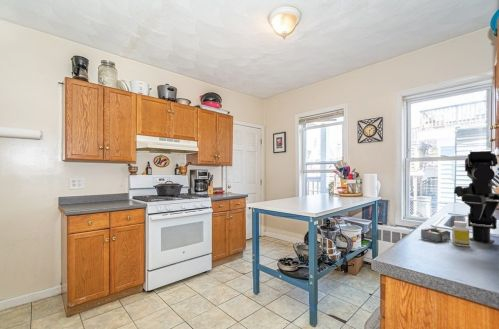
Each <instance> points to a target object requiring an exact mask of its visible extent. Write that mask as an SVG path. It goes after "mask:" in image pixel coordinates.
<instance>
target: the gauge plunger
mask: <svg viewBox="0 0 499 329" xmlns="http://www.w3.org/2000/svg"><path fill="white" fill-rule="evenodd" d="M443 230H444V229H443ZM430 231H431V230H430ZM448 231H449V230H444V231H438V233H440V235H441V239H447V238H448ZM431 232H432V231H431ZM436 233H437V232H436Z"/></svg>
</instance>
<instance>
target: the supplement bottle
mask: <svg viewBox="0 0 499 329" xmlns="http://www.w3.org/2000/svg"><path fill="white" fill-rule="evenodd" d="M453 225H454V226H452V230H451V231H452V232H451V233H452V235H451V237H452V244H453V245H456V246H458V247H466V248H467V247H470V240H469V238H470V229H469V227H468V222H466V221H462V220H454V221H453Z"/></svg>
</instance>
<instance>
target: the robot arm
mask: <svg viewBox="0 0 499 329" xmlns="http://www.w3.org/2000/svg"><path fill="white" fill-rule="evenodd" d="M497 165H498V159H497V155H496V154H495V152H493V151H492V150H491V149H482V150H480V149H479V150H470V151H469V153H467V158H465V159H464V172H466V174H467V177H468V178H469V179H471V182H470V183H469V184H468V186H466V187H465V186H464V187H462V186H461V185H459V186H454V189H453V191H454V192H453V194H455V195H456V196H457V197H458V198H460V197H461V202H463V204H465V205H467V206H468V207H469V213H467V227H468V228H469V227H471V228H472V229H471V230H472V232H471V233H472V237H469V241H474V242H479V243H484V244H490V243H493V242H495V239H491V230H497V229H498V228H497V224H498V223H497V222H498V220H497V218H496V216H495V215H494V213H495V212H496V210H497V209H498V207H499V192H498V193H496V192H495V193H494V192H493V187H494V186H495V183H493V182H492V180H493V179H494V178H495V175H496V173H495V171H494V169H492V168H491V167H496V166H497Z"/></svg>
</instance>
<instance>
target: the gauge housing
mask: <svg viewBox="0 0 499 329" xmlns="http://www.w3.org/2000/svg"><path fill="white" fill-rule="evenodd" d="M431 231H432V232H431ZM438 231H444V229H439V228H437V227H428V228H422V229H420V238H421V239H422V240H427V241H429V240H430V242H434V243H441V242H446V241H450V240H451V231H450V230H447V231H448V238H447V239H441V235H440V233H438ZM436 232H437V233H436Z"/></svg>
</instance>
